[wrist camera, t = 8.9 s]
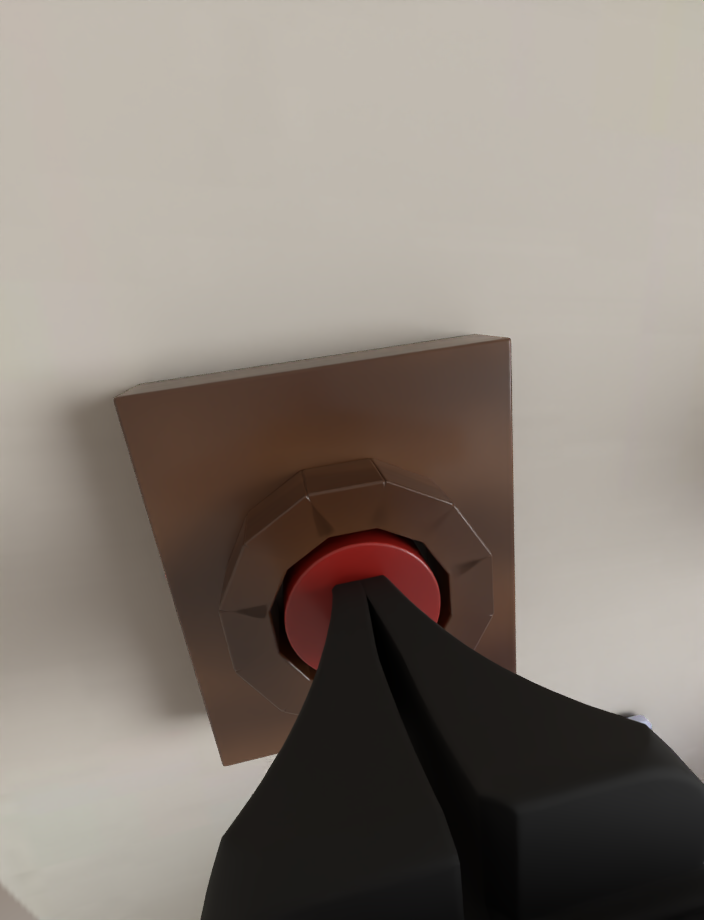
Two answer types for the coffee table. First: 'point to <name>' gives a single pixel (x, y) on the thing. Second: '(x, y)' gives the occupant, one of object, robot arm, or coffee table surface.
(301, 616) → the button
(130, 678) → the coffee table surface
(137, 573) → the coffee table surface
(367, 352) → the switch block
